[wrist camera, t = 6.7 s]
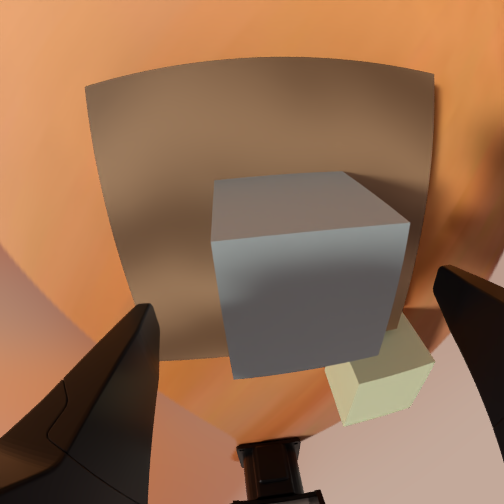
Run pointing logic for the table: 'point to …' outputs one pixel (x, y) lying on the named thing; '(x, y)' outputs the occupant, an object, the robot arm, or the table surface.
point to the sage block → (381, 377)
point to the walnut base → (245, 164)
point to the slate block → (303, 270)
